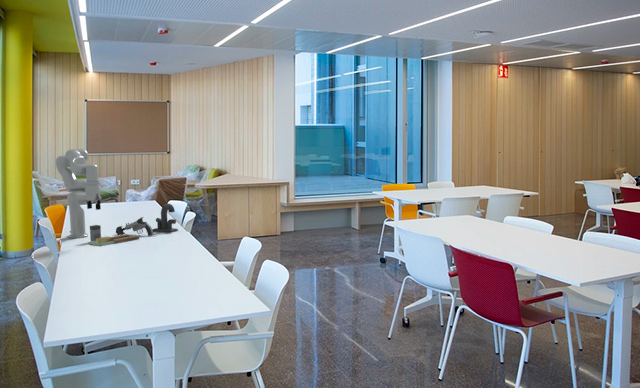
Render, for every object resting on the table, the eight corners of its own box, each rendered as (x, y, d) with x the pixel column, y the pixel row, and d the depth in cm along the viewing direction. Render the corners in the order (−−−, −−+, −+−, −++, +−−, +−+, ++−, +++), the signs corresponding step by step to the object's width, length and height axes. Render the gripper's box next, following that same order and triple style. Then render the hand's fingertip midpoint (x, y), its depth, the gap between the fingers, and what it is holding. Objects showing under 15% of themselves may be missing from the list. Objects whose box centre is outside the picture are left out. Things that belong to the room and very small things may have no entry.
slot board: (103, 241, 373) (103, 238, 373) (126, 237, 387) (126, 234, 387) (115, 244, 365) (115, 240, 364) (139, 239, 379) (139, 236, 379)
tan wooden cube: (96, 244, 363) (95, 238, 362) (101, 243, 366) (101, 237, 366) (99, 245, 361) (99, 238, 360) (105, 244, 364) (104, 237, 363)
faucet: (184, 229, 419) (183, 202, 417) (171, 232, 404) (170, 205, 402) (164, 228, 426) (163, 202, 423) (151, 231, 411) (149, 204, 409)
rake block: (90, 242, 372) (89, 225, 371) (97, 241, 376) (96, 224, 375) (94, 242, 370) (93, 226, 368) (101, 241, 374) (100, 225, 373)
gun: (151, 235, 391) (143, 215, 391) (121, 248, 398) (113, 229, 398) (155, 233, 396) (147, 214, 396) (125, 246, 403) (117, 227, 403)
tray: (90, 244, 363) (89, 241, 363) (104, 242, 372) (104, 239, 372) (100, 246, 357) (99, 243, 357) (114, 243, 366) (114, 240, 365)
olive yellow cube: (101, 243, 366) (101, 237, 366) (106, 242, 369) (106, 236, 369) (105, 244, 364) (104, 237, 363) (110, 242, 367) (110, 236, 367)
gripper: (79, 183, 370) (81, 208, 372) (94, 184, 360) (96, 210, 362) (90, 182, 377) (91, 207, 378) (105, 183, 366) (106, 209, 368)
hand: (93, 209), depth 370 cm, fingers open, 9 cm apart
